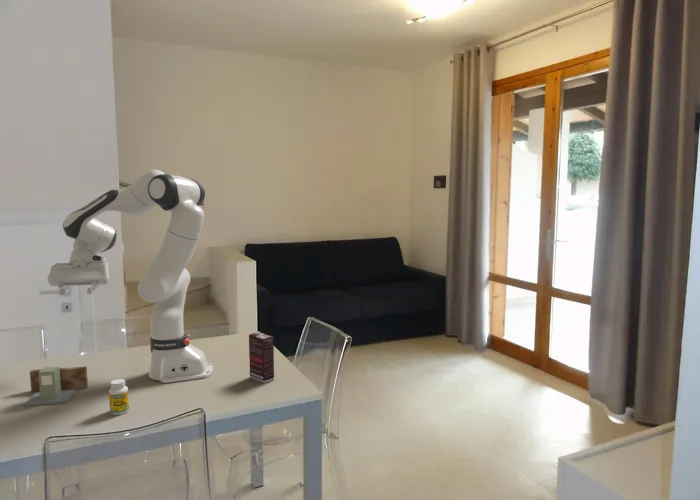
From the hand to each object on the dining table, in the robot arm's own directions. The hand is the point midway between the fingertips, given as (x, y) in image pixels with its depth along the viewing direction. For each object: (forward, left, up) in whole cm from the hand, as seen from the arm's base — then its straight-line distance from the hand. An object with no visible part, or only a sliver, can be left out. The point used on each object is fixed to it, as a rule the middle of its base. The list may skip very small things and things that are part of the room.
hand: (75, 293), depth 184 cm
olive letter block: (+2, +23, -29) cm, 37 cm away
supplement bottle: (-22, +37, -30) cm, 52 cm away
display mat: (+2, +23, -29) cm, 38 cm away
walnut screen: (+2, +15, -29) cm, 33 cm away
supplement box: (-65, +18, -30) cm, 74 cm away
